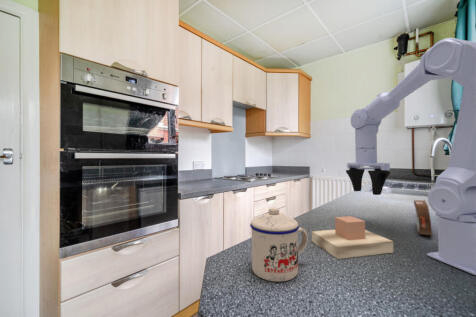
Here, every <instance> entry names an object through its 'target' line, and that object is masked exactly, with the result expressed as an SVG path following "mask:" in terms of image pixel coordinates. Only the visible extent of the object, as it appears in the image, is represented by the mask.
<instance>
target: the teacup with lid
mask: <svg viewBox="0 0 476 317" xmlns="http://www.w3.org/2000/svg"><path fill="white" fill-rule="evenodd" d="M249 227H250V228H251V269H252V272H253V273H254V274H255V275H256V276H257V277H259V278H261V279H264V280H265V281H269V282H287V281H290V280H292V279H294V278H295V277H297V275H298V273H299V254H301V253H302V252H303V251H304V250H305V249H306V247H307V245H308V240H309V235H308V233H307V232H308V231H306V230H305V229H304V228H302V227H300V226H299V223H298V221H296V220H295V218H292V217H289V216H287V215H285V214H284V213H281V212H280V209H279V208H278V207H269V209H268V212H265V213H263V214H262V215H259V216H257V217H254V218H253V219H252V220H251V222H250V225H249ZM299 232H301V235H302V237H301V238H302V239H301V242H300V244H299Z"/></svg>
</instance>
